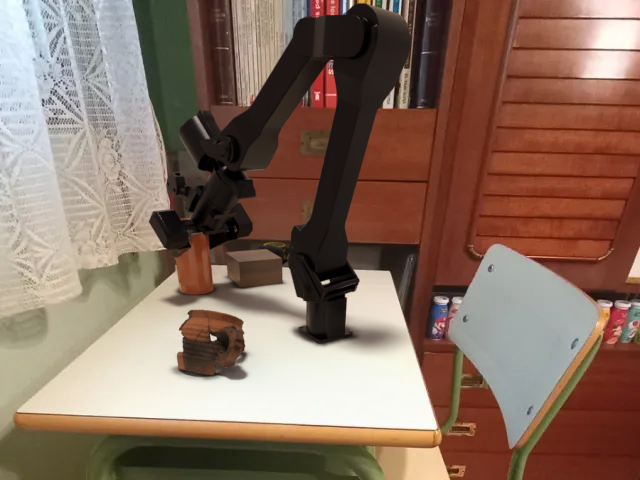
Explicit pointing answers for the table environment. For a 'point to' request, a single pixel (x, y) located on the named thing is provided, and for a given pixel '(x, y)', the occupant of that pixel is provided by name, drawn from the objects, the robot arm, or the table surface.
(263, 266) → the block
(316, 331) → the robot arm
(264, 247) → the tape measure
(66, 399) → the table surface
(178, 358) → the pottery mug
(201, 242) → the tumbler
